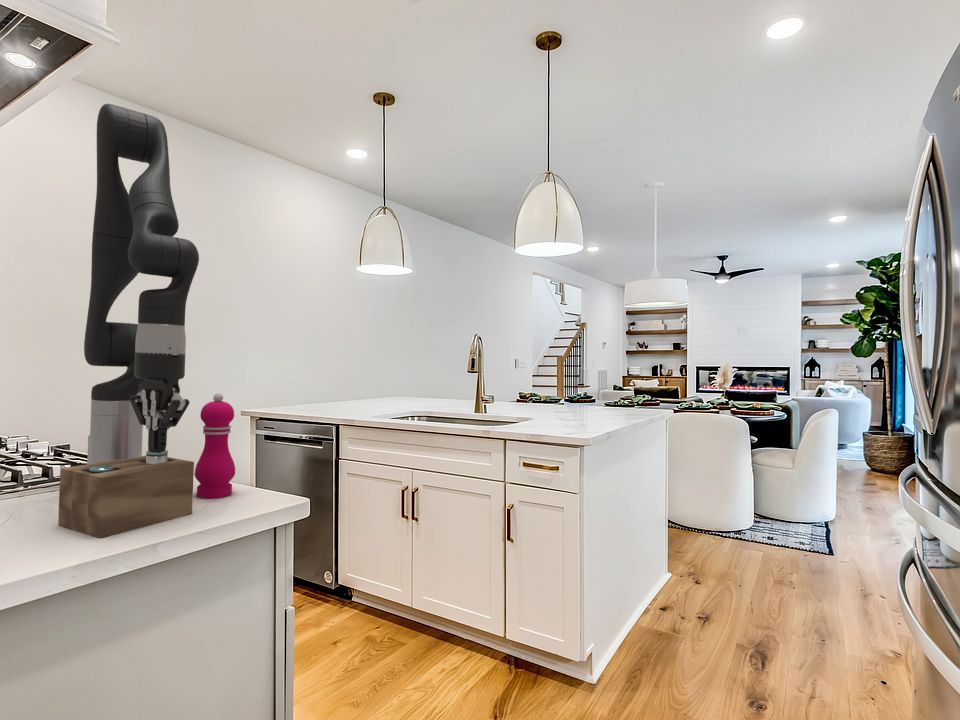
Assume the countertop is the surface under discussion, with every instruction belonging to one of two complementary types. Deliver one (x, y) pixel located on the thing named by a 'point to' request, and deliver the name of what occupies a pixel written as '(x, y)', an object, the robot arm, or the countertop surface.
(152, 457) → the rear peg
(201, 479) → the pepper mill
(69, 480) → the walnut block
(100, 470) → the front peg
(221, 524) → the countertop surface
